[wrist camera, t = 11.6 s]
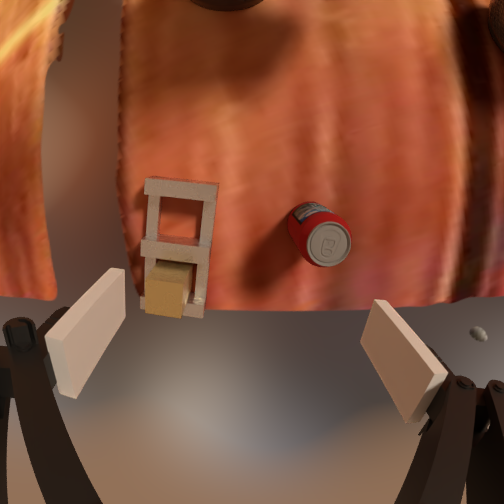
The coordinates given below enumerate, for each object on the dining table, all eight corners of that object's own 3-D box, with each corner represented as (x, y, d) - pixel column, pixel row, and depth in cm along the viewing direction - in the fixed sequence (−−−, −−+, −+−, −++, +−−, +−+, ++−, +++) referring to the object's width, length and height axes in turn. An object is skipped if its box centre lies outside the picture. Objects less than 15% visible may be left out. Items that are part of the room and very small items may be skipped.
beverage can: (333, 205, 46) (362, 222, 35) (323, 247, 48) (348, 276, 36) (291, 196, 45) (308, 210, 34) (282, 239, 47) (295, 267, 36)
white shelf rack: (153, 176, 44) (145, 178, 40) (219, 183, 44) (217, 185, 41) (146, 297, 49) (140, 308, 46) (205, 306, 50) (202, 318, 46)
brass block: (163, 254, 47) (145, 278, 38) (194, 258, 48) (183, 284, 38) (161, 283, 49) (145, 312, 39) (191, 287, 49) (181, 318, 40)
